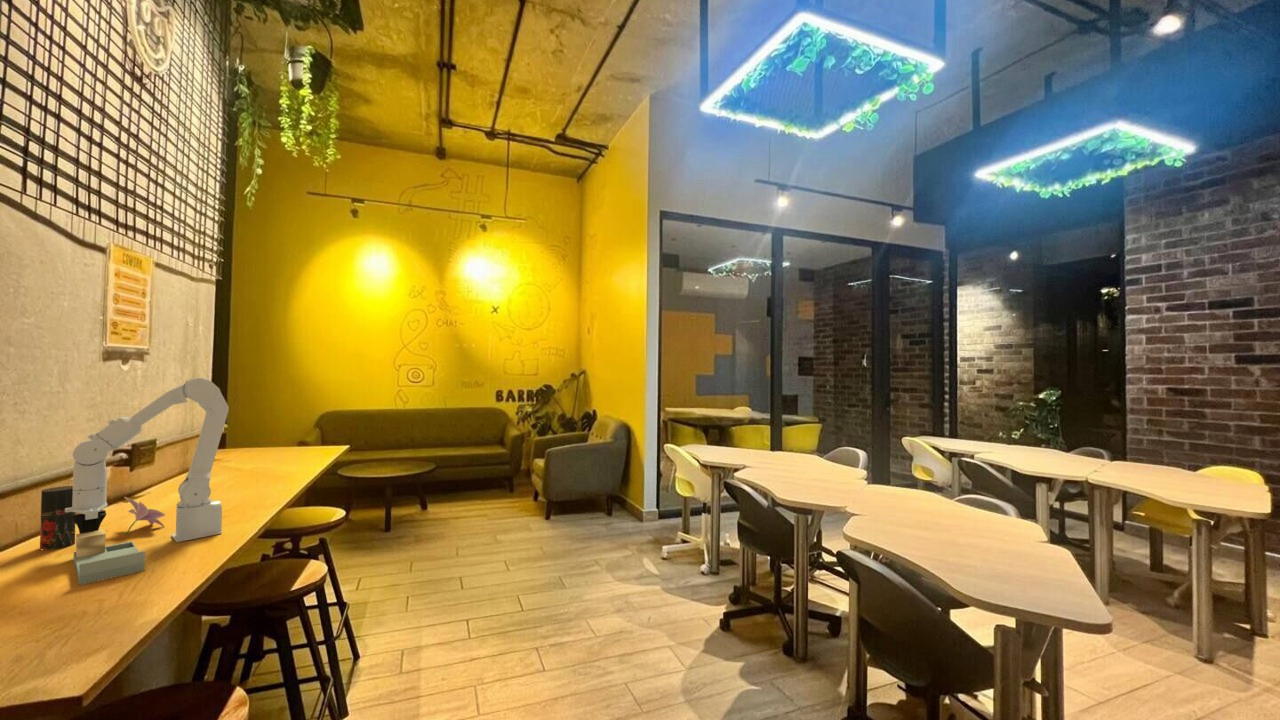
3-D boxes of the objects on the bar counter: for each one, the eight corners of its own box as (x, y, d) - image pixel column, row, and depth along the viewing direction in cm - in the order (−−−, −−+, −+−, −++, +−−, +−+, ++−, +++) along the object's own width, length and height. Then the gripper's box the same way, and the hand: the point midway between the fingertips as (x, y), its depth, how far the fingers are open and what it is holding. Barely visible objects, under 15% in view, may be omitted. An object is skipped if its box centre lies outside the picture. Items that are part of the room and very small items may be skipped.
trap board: (132, 548, 127) (132, 531, 127) (144, 570, 114) (145, 551, 114) (73, 560, 119) (73, 541, 119) (79, 585, 106) (79, 564, 106)
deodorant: (80, 543, 130) (81, 487, 130) (47, 551, 124) (48, 492, 125) (67, 541, 132) (69, 485, 132) (34, 548, 126) (36, 490, 126)
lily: (163, 537, 139) (180, 502, 144) (107, 529, 131) (127, 493, 136) (154, 541, 146) (171, 508, 151) (101, 534, 138) (120, 499, 143)
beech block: (103, 547, 122) (103, 529, 122) (105, 552, 119) (105, 533, 120) (75, 552, 119) (76, 534, 119) (77, 557, 116) (77, 538, 116)
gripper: (64, 486, 125) (62, 539, 124) (66, 496, 116) (65, 554, 115) (105, 481, 130) (103, 532, 130) (110, 490, 121) (109, 545, 121)
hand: (88, 542), depth 123 cm, fingers closed
